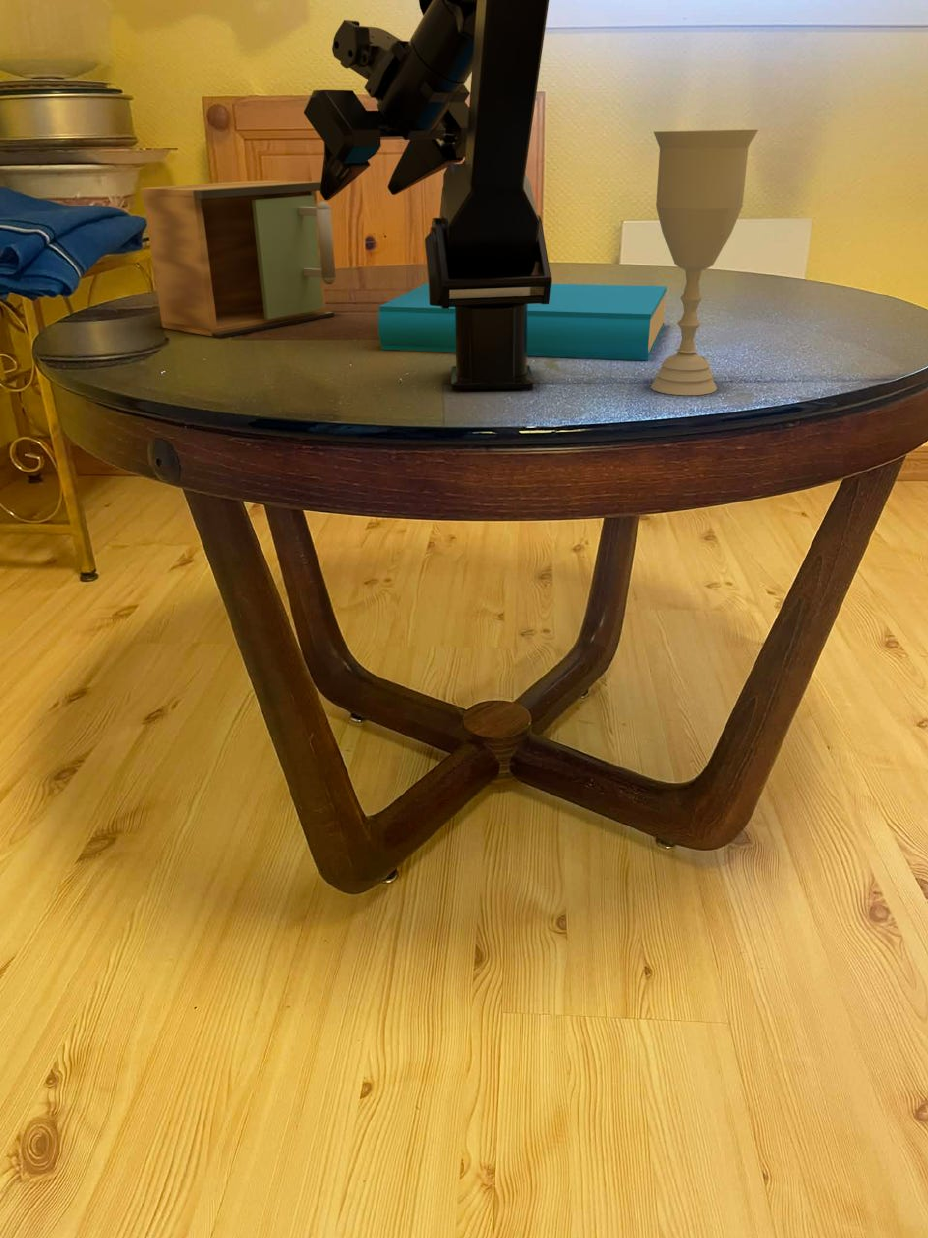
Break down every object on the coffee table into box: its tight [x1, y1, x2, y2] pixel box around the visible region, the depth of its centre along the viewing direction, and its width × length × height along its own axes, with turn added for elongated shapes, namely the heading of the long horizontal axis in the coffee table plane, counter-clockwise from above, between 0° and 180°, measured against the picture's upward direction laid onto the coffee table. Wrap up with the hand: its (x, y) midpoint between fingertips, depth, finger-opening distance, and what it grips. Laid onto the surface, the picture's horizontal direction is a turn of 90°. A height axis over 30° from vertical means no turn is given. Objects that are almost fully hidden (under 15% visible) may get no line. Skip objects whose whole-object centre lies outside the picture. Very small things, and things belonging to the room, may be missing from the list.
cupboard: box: [141, 179, 335, 339], centre depth 103 cm, size 10×16×14 cm, turn 140°
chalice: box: [650, 129, 759, 396], centre depth 72 cm, size 7×7×18 cm
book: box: [377, 281, 668, 361], centre depth 94 cm, size 17×4×25 cm
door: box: [252, 195, 336, 320], centre depth 101 cm, size 5×8×12 cm, turn 140°
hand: (358, 193), depth 95 cm, fingers open, 9 cm apart
